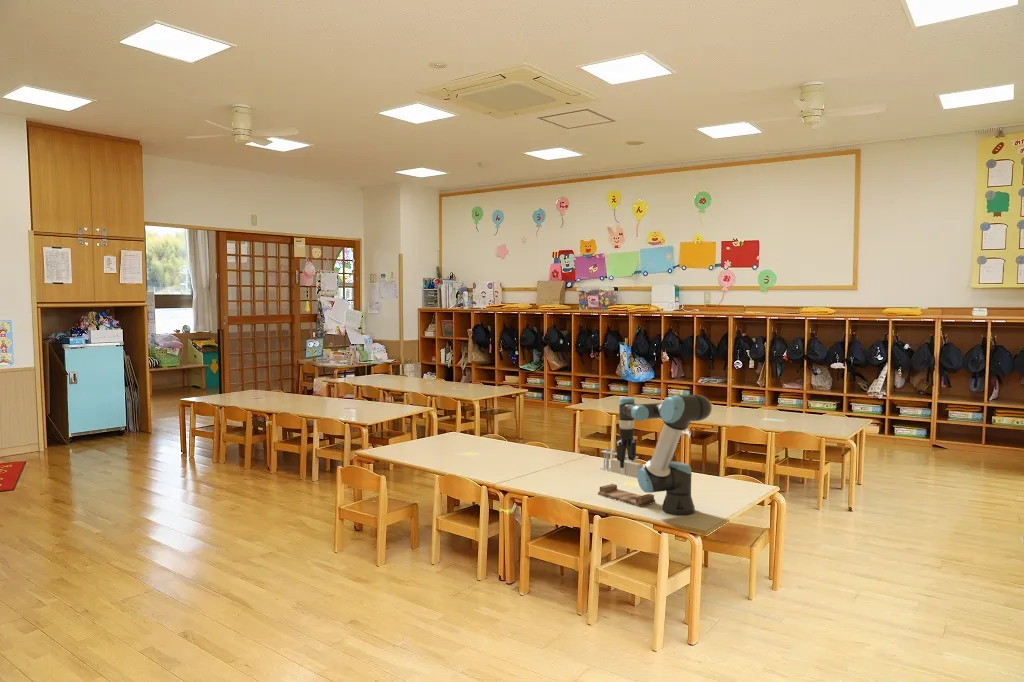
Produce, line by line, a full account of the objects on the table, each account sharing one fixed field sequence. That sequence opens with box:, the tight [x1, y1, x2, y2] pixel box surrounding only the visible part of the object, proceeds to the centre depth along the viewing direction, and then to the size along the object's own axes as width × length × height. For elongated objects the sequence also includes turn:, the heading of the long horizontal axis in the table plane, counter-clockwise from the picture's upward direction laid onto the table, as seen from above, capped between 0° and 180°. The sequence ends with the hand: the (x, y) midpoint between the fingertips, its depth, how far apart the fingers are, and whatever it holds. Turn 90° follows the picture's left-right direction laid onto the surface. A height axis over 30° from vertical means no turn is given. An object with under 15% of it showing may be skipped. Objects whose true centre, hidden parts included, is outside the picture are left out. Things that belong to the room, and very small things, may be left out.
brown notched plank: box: [597, 483, 656, 508], centre depth 362 cm, size 28×12×4 cm, turn 38°
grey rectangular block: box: [610, 457, 644, 479], centre depth 361 cm, size 18×4×6 cm, turn 40°
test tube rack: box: [600, 447, 639, 472], centre depth 417 cm, size 25×4×13 cm, turn 44°
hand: (626, 473), depth 361 cm, fingers closed on grey rectangular block, 4 cm apart
